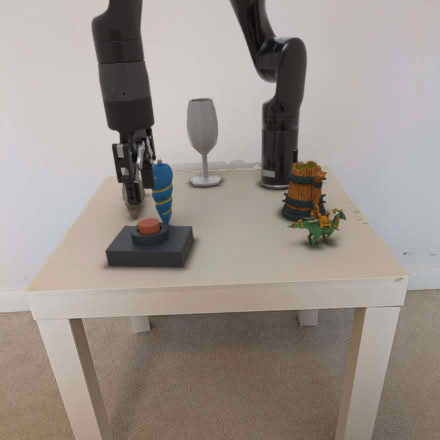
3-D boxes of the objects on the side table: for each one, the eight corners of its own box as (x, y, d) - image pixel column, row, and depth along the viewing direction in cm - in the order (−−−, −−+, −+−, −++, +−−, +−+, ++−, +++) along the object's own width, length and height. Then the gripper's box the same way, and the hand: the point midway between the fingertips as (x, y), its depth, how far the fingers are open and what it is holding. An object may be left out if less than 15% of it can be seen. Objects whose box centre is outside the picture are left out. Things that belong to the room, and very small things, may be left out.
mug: (274, 208, 93) (275, 157, 86) (315, 203, 94) (319, 152, 88) (294, 230, 82) (297, 175, 75) (340, 224, 83) (347, 169, 77)
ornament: (152, 225, 88) (141, 155, 80) (174, 220, 90) (166, 151, 82) (159, 233, 84) (148, 161, 76) (182, 228, 86) (174, 157, 78)
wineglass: (221, 186, 107) (217, 101, 96) (189, 188, 108) (181, 103, 96) (222, 176, 115) (218, 96, 103) (191, 178, 115) (184, 98, 103)
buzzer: (193, 240, 81) (191, 217, 78) (182, 267, 72) (179, 242, 69) (127, 239, 83) (122, 217, 80) (108, 266, 73) (102, 241, 71)
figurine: (347, 243, 76) (352, 202, 72) (288, 253, 74) (290, 212, 69) (339, 236, 79) (344, 196, 74) (282, 246, 76) (284, 205, 72)
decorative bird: (123, 220, 91) (116, 188, 87) (126, 196, 105) (120, 167, 101) (146, 217, 92) (141, 185, 88) (146, 194, 105) (142, 165, 101)
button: (162, 226, 76) (161, 217, 75) (157, 235, 73) (155, 226, 72) (142, 226, 76) (140, 217, 75) (136, 235, 73) (134, 226, 72)
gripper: (136, 101, 56) (152, 211, 64) (161, 88, 67) (172, 183, 76) (85, 102, 57) (108, 211, 65) (119, 90, 68) (134, 183, 77)
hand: (142, 195), depth 71 cm, fingers open, 8 cm apart
